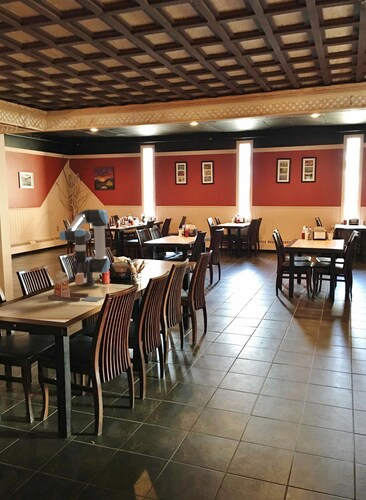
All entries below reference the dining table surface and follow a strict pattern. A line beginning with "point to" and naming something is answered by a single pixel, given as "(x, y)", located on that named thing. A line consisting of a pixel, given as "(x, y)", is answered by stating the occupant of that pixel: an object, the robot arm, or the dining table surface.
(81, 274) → the latch block
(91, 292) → the dining table surface
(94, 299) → the mat
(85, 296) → the brown wooden tray
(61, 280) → the milk carton
